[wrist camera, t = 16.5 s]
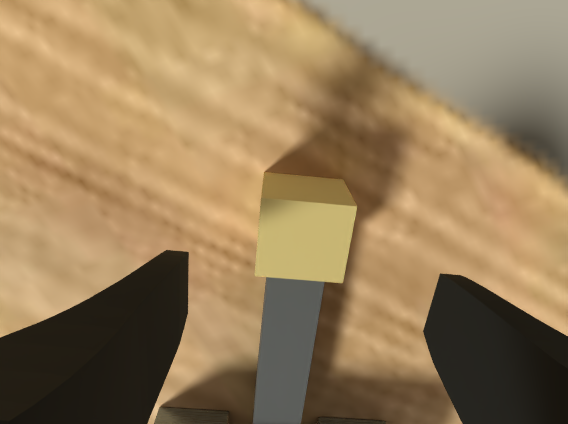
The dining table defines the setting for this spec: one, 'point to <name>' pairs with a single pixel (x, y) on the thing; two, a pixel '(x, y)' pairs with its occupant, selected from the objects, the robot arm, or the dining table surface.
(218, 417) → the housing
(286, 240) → the plug
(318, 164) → the dining table surface
